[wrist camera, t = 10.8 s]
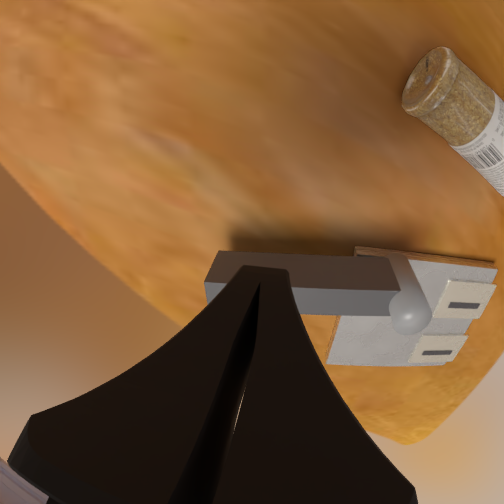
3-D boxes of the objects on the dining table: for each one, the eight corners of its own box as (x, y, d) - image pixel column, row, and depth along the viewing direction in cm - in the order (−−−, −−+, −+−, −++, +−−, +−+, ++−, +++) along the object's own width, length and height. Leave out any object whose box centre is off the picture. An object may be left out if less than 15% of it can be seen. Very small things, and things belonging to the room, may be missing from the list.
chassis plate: (496, 262, 17) (503, 272, 16) (445, 357, 23) (448, 366, 22) (355, 245, 18) (358, 256, 17) (325, 354, 24) (325, 366, 23)
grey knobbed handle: (404, 282, 18) (424, 334, 14) (222, 274, 19) (202, 326, 15) (412, 253, 17) (437, 304, 12) (219, 245, 18) (196, 294, 14)
